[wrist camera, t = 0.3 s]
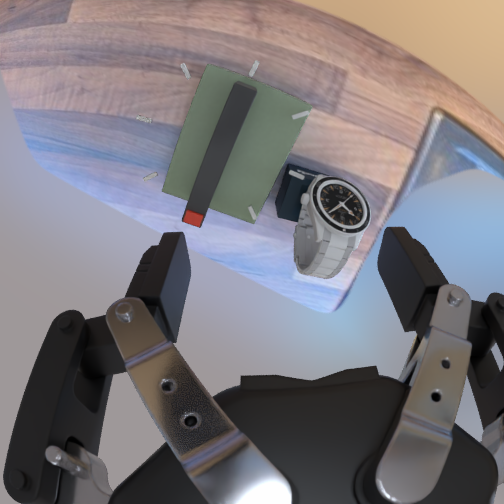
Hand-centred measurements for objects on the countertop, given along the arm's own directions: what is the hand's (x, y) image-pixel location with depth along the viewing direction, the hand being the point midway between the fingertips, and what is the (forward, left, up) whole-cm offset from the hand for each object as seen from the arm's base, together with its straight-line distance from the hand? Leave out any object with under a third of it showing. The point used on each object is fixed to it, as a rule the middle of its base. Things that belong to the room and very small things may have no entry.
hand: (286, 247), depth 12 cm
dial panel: (+1, -3, -18) cm, 18 cm away
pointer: (+1, -4, -15) cm, 15 cm away
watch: (+3, +6, -18) cm, 19 cm away
